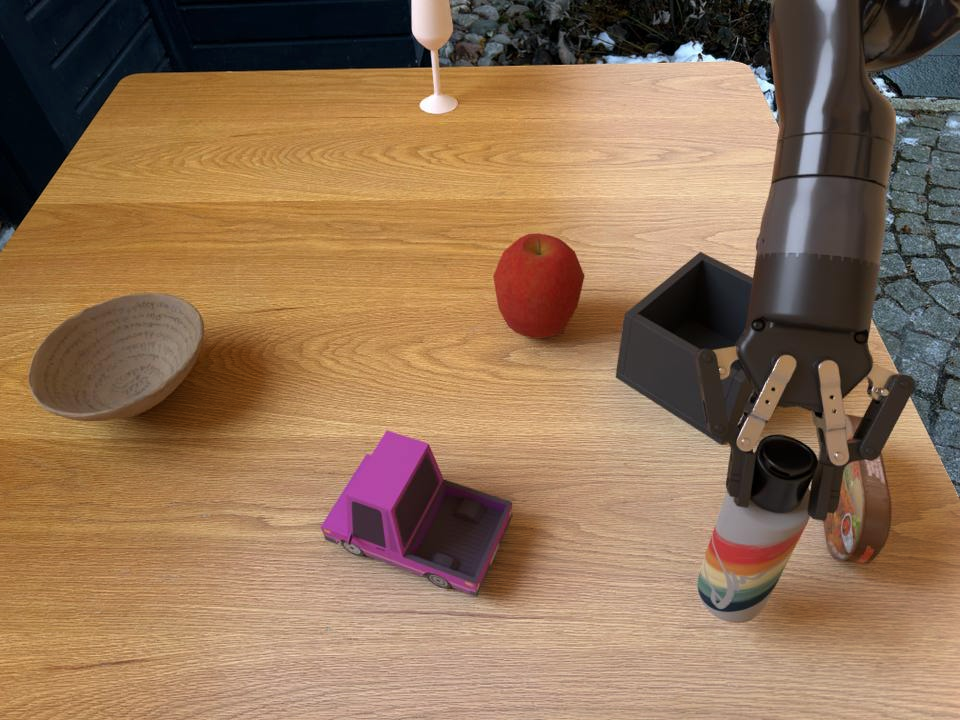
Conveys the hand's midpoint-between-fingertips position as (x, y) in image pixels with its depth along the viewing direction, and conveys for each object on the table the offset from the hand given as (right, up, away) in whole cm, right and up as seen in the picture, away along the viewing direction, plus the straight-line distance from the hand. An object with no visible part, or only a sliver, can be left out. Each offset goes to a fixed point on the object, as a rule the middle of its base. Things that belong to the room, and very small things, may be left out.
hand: (778, 510), depth 50 cm
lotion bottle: (+1, -10, +13) cm, 16 cm away
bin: (+5, +8, +35) cm, 36 cm away
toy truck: (-26, -7, +22) cm, 35 cm away
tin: (+15, -5, +23) cm, 27 cm away
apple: (-13, +14, +41) cm, 46 cm away
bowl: (-59, +6, +36) cm, 70 cm away
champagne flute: (-27, +55, +81) cm, 101 cm away
